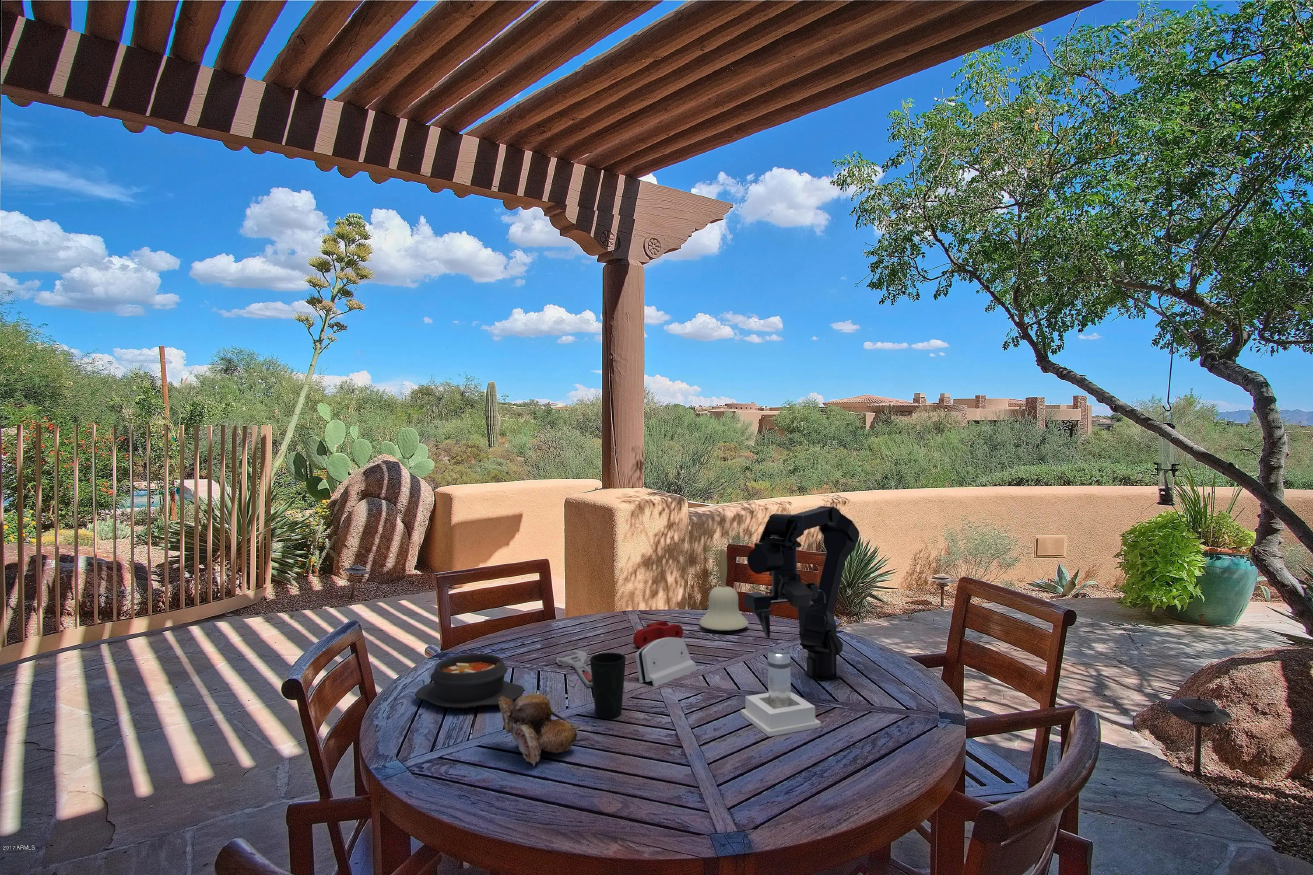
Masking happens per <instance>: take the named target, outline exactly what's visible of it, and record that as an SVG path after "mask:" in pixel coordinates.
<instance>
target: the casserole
mask: <svg viewBox="0 0 1313 875" xmlns="http://www.w3.org/2000/svg"><path fill="white" fill-rule="evenodd" d="M433 670H434V671H433V672H432V673H431V674H430V679H431V680H432V681H431V682H429V683H426V684H425V685H422V686H421V687H420V688H418V689H417V690H416V691H415V692H414V697H415V698H417V699H419V700H422V701H426V702H429V703H431V704H434V705H436V706H439V707H444V708H450V707H452V708H451V709H464V708H463V707H474V706H479V707H483V706H499V703H498V697H500V696H504V695H505V697H507V698H509V699H511V700H513V701H515V700H516V699H518V698H519V697H520V696H523V693H524V692H525V688H524V686H523V685H520V684H517V683H512V682H509V681H507V680H505V675H506V674H507V672H508V667H507V665H505V662H504V660H503V658H502V657H500V656H497V655H495V654H490V653H489V654H487V653H469V654H468V653H467V654H460V655H456V656H452V657H448V658H445V659H442V660H441V661H439V662H438V663H436V665H435V667H434V669H433ZM474 708H475V707H474Z"/></svg>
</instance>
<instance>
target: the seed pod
mask: <svg viewBox="0 0 1313 875" xmlns="http://www.w3.org/2000/svg"><path fill="white" fill-rule="evenodd" d="M498 703H499V705H498V706H499V707H498V708H499V709H500V713H501V716H502V722H503V725H504V729H505V732H507V733H508V734H510V733H511V735H512V736H511V737H512V739H513V741H514V742H515V743H517V746H518V749H519V751H520V752H521V754H522V756H523V759H524V760H525V762H528V763H531V764H532V765H533V766H535V765H536V763H538V762H539V761H540V759H541V753H542V750H544V752H549V753H551V754H553V753H555V754H558V753H561V754H563V752H566V751H567V752H568V750H570V749H571V748H572V745H574V744H575V743H576V742H577V738H578V733H577V731H579V730H585V731H587V732H591V730H592V729H591V726H588V727H587V726H586V727H584V726H581V725H579V724H575V723H570V722H569V721H568V720H567V719H565V718H564V717H562V716H560V715H559V714H557V713H556V712H554V711H553V710H552V707H551V704H550V700H549V698H548V697H547V696H545V695H544V694H541V693H537V692H531V693H528V694H524V695H523V694H522V695H521V696H519V697H518V698H516V699H514V700H511V699H509V698H507V697H505V695H504V696H500V697H498ZM552 716H553V717H555V718H556V719H552Z"/></svg>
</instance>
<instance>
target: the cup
mask: <svg viewBox="0 0 1313 875" xmlns="http://www.w3.org/2000/svg"><path fill="white" fill-rule="evenodd" d="M589 661H590V662H589V664H590V671H591V674H592V684H593V687H592V693H593V701H594V702H593V703H594V711H595V717H597V718H598V719H603V720H612V719H616V718H619V717H620V716H621V715H622V713H623V712H622V711H623V710H622V709H623V698H624V697H623V696H624V688H625V687H624V685H625V684H624V683H625V674H626V671H625V670H626V661H627V660H626V655H625V654H622V653H618V652H601V653H596V654H593V655H592V656H591V657H590V658H589Z"/></svg>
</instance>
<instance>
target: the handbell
mask: <svg viewBox="0 0 1313 875" xmlns="http://www.w3.org/2000/svg"><path fill="white" fill-rule="evenodd" d="M727 559H728V558H727V551H726V549H725V548H721V549H720V551H719V558H718V573H719V581H720V586H716V587H713V588H712V589H711V590H710V592H709V594H708V610H707V612H706V614H704V615H703V616H702V618H701V619H700V621H699V622H698V623H699V625H700V626H701V627H703V628H704V629H708V630H712V631H713V630H714V631H736V630H737V631H738V630H740V629H741V630H742V629H745V628H746V627H748V625H749V621H748V619H746V618H745V616H744V615H743V614H742V613H741V611H740V610H739V594H738V592H737V591H736V590H735V588H734V587H733V588H732V587H731V586H727V585H726V584H727V577H728V576H727V575H728V560H727Z"/></svg>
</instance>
